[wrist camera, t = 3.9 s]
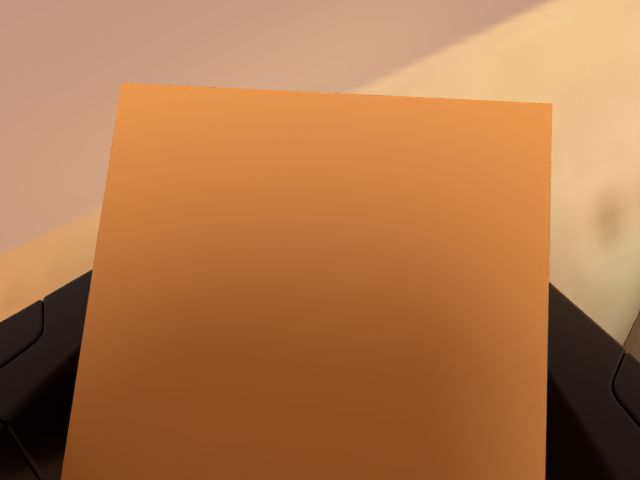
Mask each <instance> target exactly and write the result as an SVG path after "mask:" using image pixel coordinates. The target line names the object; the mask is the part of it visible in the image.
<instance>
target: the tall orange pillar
mask: <svg viewBox="0 0 640 480" xmlns="http://www.w3.org/2000/svg"><path fill="white" fill-rule="evenodd" d="M551 136H552V104H548V103H527V102H506V101H486V100H465V99H444V98H423V97H403V96H382V95H361V94H340V93H319V92H299V91H277V90H256V89H236V88H216V87H215V88H214V87H193V86H174V85H154V84H133V83H121V88H120V95H119V102H118V108H117V114H116V121H115V128H114V135H113V141H112V147H111V154H110V160H109V167H108V173H107V180H106V187H105V194H104V200H103V206H102V213H101V219H100V226H99V232H98V239H97V245H96V252H95V259H94V265H93V272H92V278H91V285H90V291H89V298H88V304H87V311H86V318H85V324H84V331H83V337H82V344H81V350H80V357H79V363H78V370H77V376H76V383H75V390H74V396H73V403H72V409H71V416H70V422H69V429H68V435H67V442H66V449H65V455H64V462H63V468H62V475H61V480H545V463H546V408H547V354H548V300H549V245H550V191H551Z"/></svg>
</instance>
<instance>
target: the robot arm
mask: <svg viewBox="0 0 640 480" xmlns="http://www.w3.org/2000/svg"><path fill="white" fill-rule="evenodd" d="M92 272H93V269H92V270H90V271H89V272H87V273H85V274H83V275H82V276H80V277H78V278H77V279H75V280H73V281H71V282H70V283H68V284H66V285H65V286H63V287H61V288H59V289H58V290H56V291H54V292H52V293H51V294H49V295H47V296H46V297H44V299H43V301H42V300H38V301H37V302H35V303H33V304H32V305H30V306H28V307H26V308H25V309H23V310H21V311H20V312H18V313H16V314H14V315H12V316H11V317H9V318H7V319H5V320H3V321H2V322H0V480H61V475H62V468H63V462H64V455H65V449H66V442H67V435H68V429H69V422H70V416H71V409H72V403H73V396H74V390H75V383H76V376H77V370H78V363H79V357H80V350H81V344H82V337H83V331H84V324H85V318H86V311H87V304H88V298H89V291H90V285H91V278H92ZM545 480H640V361H639V360H638V359H637V358H635V357H634V356H633V355H632V354H631V353H629V352H626V353H625V348H624V347H623V346H622V345H620V344H619V343H618V342H617V341H616V340H615V339H614V338H612V337H611V336H610V335H609V334H608V333H607V332H606V331H604V330H603V329H602V328H601V327H600V326H599V325H598V324H597V323H595V322H594V321H593V320H592V319H591V318H590V317H589V316H587V315H586V314H585V313H584V312H583V311H582V310H581V309H579V308H578V307H577V306H576V305H575V304H574V303H573V302H572V301H570V300H569V299H568V298H567V297H566V296H565V295H564V294H562V293H561V292H560V291H559V290H558V289H557V288H556V287H555V286H553V285H552V284H551V283H550V282H549V300H548V354H547V408H546V463H545Z"/></svg>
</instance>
